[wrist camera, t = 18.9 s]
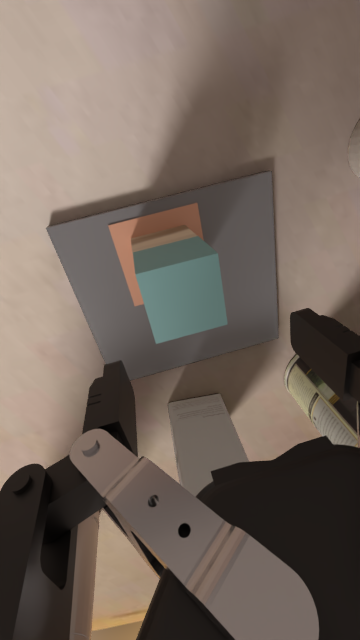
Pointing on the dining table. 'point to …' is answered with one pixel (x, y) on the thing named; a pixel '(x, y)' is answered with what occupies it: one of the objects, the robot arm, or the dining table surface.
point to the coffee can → (322, 404)
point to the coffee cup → (355, 150)
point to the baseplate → (123, 290)
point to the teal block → (181, 288)
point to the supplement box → (203, 440)
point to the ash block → (161, 238)
